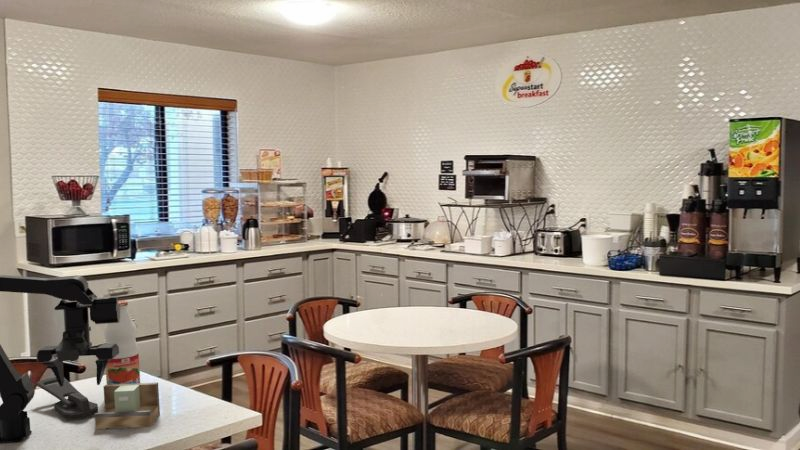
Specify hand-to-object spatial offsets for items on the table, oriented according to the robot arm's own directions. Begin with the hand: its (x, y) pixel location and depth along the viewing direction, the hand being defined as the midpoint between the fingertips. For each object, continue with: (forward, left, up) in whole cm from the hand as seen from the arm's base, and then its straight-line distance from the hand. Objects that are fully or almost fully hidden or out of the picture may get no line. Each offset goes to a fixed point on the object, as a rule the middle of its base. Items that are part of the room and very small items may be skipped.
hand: (80, 385), depth 182 cm
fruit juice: (+1, +30, -12) cm, 32 cm away
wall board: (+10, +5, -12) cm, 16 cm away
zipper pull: (-11, +19, -12) cm, 25 cm away
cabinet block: (+10, +5, -9) cm, 14 cm away
